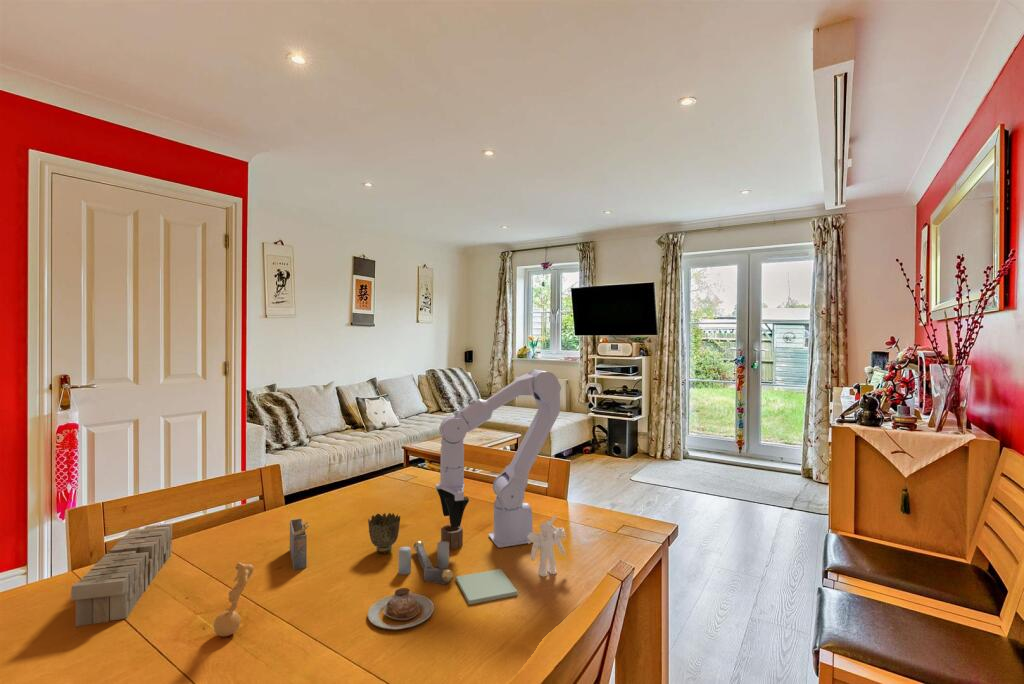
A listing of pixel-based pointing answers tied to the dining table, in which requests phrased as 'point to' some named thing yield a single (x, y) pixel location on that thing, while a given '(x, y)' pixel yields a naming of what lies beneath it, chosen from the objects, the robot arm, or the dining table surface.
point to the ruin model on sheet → (298, 543)
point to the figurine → (233, 603)
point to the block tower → (122, 575)
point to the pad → (485, 586)
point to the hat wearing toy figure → (546, 545)
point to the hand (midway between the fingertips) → (451, 520)
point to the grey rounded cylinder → (404, 560)
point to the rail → (431, 567)
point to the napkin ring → (452, 536)
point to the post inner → (443, 554)
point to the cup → (384, 531)
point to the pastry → (401, 609)
